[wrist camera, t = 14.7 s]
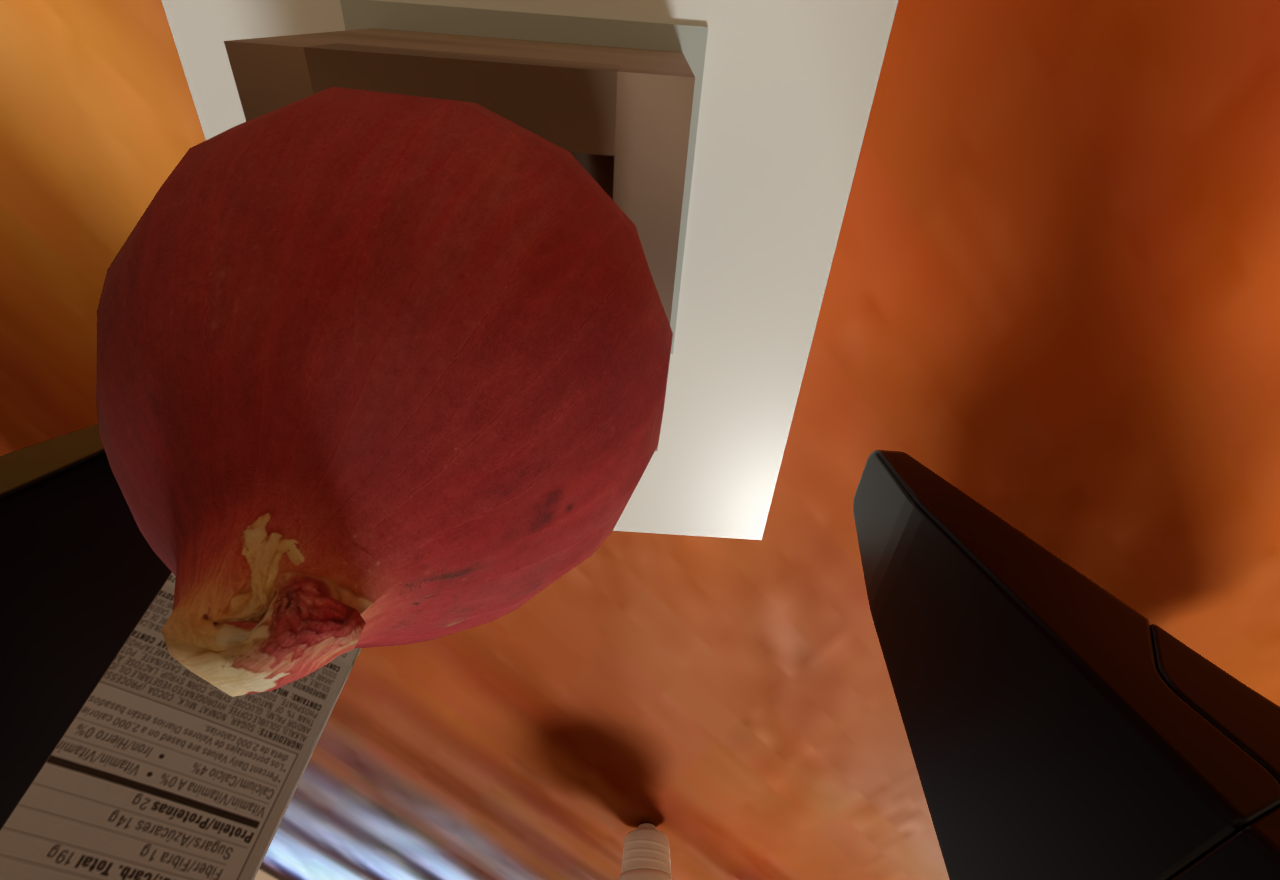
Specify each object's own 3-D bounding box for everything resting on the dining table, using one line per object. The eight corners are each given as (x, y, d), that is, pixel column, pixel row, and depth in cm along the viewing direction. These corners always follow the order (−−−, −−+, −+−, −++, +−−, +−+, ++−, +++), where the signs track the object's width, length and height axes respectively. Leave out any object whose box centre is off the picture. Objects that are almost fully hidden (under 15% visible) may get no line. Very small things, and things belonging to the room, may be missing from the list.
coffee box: (316, 654, 26) (-34, 1320, 13) (157, 586, 24) (-471, 1317, 10) (419, 539, 22) (58, 1353, 9) (239, 443, 19) (-631, 1356, 6)
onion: (584, 447, 13) (504, 924, 6) (295, 333, 11) (-204, 789, 5) (729, 178, 9) (886, 563, 3) (355, -24, 8) (-870, -139, 2)
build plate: (756, 514, 21) (762, 542, 20) (340, 487, 20) (322, 513, 19) (995, -488, 9) (1041, -554, 8) (31, -581, 9) (-56, -662, 8)
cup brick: (657, 333, 15) (657, 451, 11) (419, 316, 15) (332, 429, 11) (682, 52, 12) (695, 78, 8) (373, 28, 12) (223, 40, 8)
